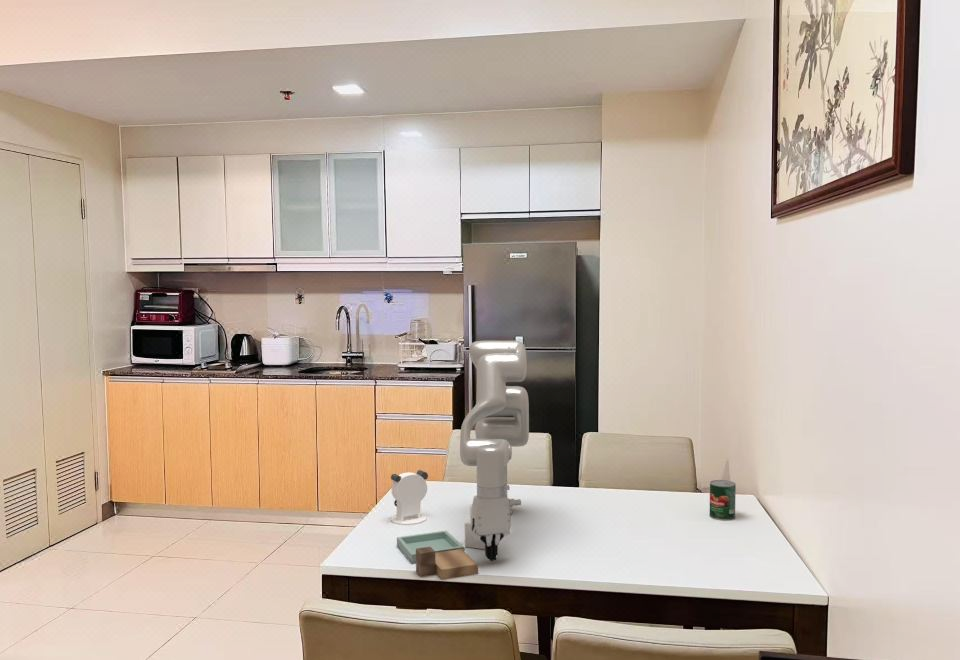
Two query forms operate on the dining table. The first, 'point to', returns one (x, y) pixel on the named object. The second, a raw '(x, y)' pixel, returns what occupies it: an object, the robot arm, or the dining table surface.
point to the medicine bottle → (468, 536)
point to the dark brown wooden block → (425, 561)
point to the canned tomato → (722, 499)
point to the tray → (427, 543)
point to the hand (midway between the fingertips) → (491, 558)
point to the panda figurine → (409, 497)
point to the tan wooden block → (454, 564)
